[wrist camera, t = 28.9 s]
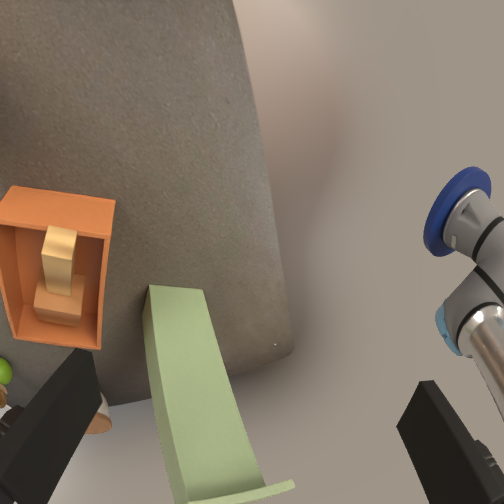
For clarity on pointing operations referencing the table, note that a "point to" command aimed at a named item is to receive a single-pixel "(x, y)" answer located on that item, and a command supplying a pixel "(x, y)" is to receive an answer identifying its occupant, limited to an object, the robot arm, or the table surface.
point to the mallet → (59, 279)
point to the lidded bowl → (100, 419)
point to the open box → (30, 260)
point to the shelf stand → (197, 405)
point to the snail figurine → (4, 380)
